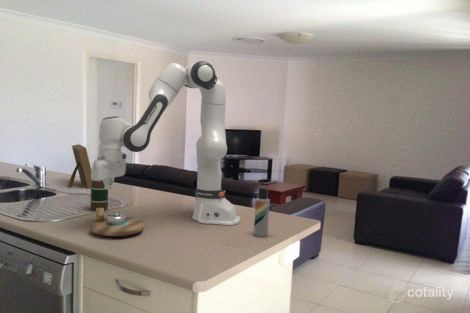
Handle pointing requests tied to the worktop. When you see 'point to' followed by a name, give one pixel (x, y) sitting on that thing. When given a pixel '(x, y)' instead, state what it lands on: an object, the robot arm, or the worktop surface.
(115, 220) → the cover
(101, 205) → the beer bottle
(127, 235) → the turntable base
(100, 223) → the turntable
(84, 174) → the photo frame
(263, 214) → the lotion bottle
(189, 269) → the worktop surface
